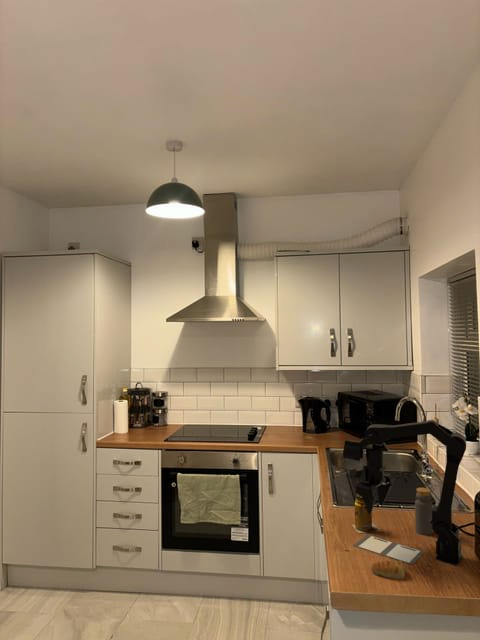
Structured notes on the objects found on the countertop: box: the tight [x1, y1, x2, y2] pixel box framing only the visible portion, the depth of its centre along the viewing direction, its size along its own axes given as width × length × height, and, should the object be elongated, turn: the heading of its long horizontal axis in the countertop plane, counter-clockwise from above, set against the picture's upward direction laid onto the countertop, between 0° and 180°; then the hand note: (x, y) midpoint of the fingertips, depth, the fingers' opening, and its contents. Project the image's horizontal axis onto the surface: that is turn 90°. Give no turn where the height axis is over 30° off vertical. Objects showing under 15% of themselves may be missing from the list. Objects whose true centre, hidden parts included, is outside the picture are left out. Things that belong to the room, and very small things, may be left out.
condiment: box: [351, 493, 381, 534], centre depth 168 cm, size 7×8×12 cm
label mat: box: [352, 533, 425, 566], centre depth 152 cm, size 20×11×1 cm, turn 49°
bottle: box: [414, 487, 434, 536], centre depth 165 cm, size 6×6×15 cm
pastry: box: [370, 558, 406, 580], centre depth 137 cm, size 9×7×4 cm
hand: (375, 509), depth 155 cm, fingers open, 9 cm apart
